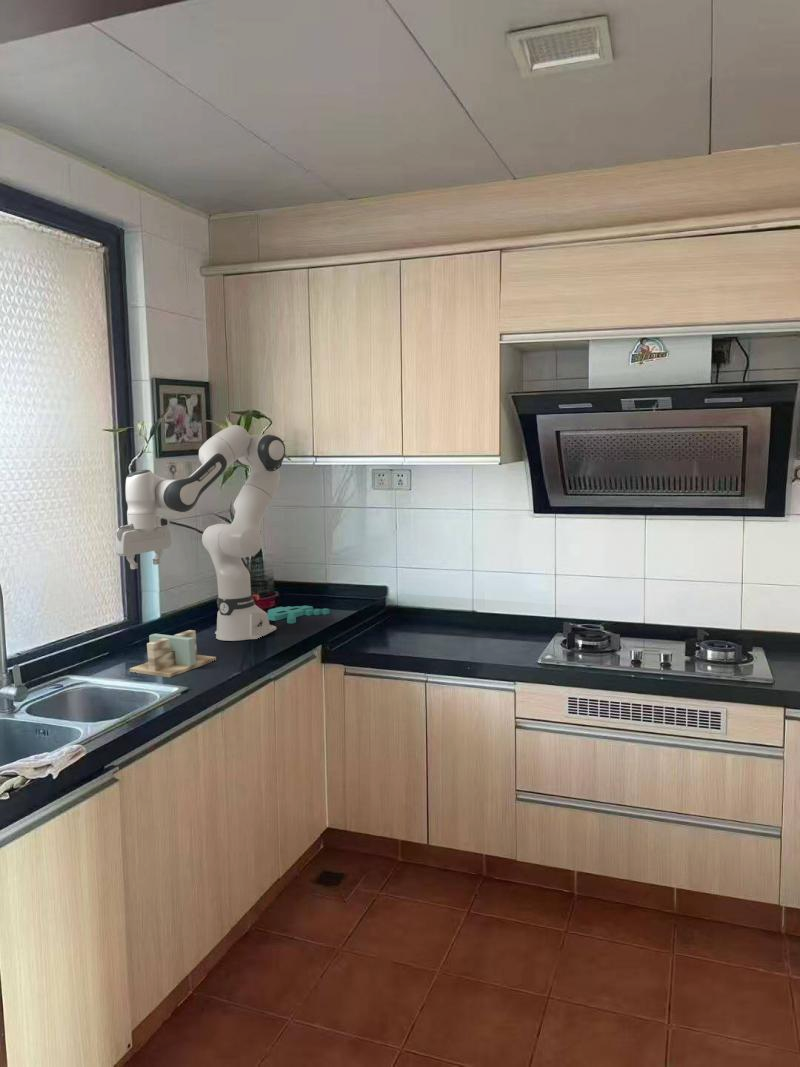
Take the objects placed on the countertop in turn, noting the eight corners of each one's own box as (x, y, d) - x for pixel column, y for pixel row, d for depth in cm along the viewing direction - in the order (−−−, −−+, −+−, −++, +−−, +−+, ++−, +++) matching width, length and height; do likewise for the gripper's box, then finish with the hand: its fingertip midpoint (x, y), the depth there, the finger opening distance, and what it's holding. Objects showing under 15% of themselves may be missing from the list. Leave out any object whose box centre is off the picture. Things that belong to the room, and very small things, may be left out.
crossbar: (196, 664, 253) (194, 638, 252) (190, 666, 251) (188, 640, 250) (156, 658, 261) (155, 633, 260) (150, 660, 259) (149, 635, 258)
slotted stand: (177, 655, 268) (175, 627, 267) (216, 660, 261) (214, 631, 260) (129, 671, 251) (127, 642, 250) (169, 677, 243) (167, 647, 242)
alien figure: (329, 614, 324) (293, 609, 336) (329, 609, 323) (293, 603, 336) (291, 624, 308) (255, 618, 321) (291, 618, 308) (254, 613, 321)
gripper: (124, 526, 251) (127, 572, 253) (173, 519, 269) (176, 562, 271) (109, 526, 254) (112, 571, 256) (158, 519, 272) (161, 561, 274)
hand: (145, 566), depth 263 cm, fingers open, 8 cm apart
